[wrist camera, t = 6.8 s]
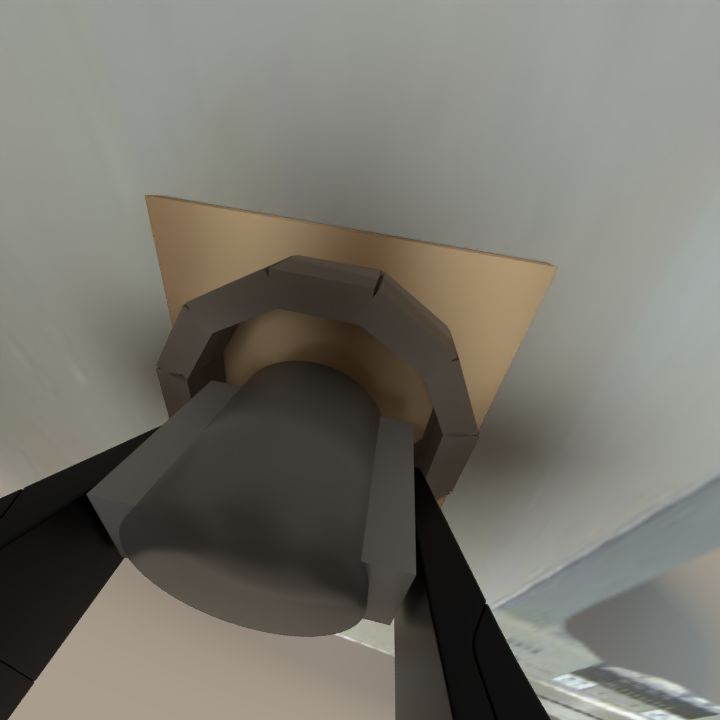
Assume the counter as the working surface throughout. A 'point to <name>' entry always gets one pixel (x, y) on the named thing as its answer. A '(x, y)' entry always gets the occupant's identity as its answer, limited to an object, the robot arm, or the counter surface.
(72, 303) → the counter surface
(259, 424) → the cap
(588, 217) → the counter surface
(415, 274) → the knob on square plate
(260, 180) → the counter surface
